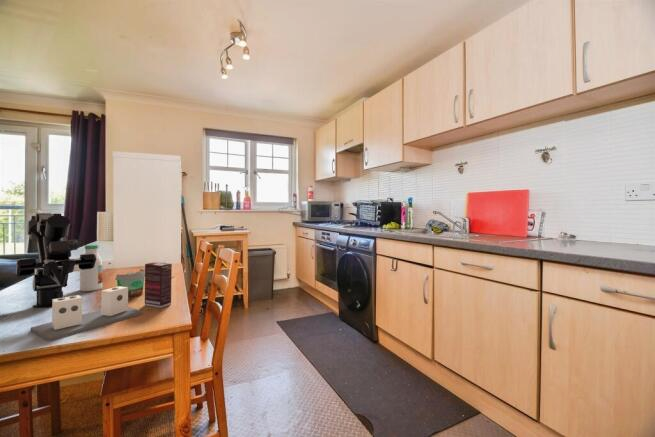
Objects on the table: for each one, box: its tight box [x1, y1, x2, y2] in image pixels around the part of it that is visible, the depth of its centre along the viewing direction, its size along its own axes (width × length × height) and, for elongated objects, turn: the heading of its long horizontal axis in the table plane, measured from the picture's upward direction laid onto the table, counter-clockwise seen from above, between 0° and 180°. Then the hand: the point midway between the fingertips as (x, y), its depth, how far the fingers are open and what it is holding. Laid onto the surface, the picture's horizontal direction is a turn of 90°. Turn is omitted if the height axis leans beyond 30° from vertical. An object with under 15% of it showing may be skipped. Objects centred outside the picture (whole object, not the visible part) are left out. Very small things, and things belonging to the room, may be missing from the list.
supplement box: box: [144, 261, 173, 309], centre depth 107 cm, size 9×5×16 cm, turn 71°
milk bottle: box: [79, 244, 104, 292], centre depth 125 cm, size 8×8×20 cm
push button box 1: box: [100, 286, 129, 316], centre depth 95 cm, size 4×6×8 cm
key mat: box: [30, 306, 143, 342], centre depth 90 cm, size 24×13×1 cm, turn 152°
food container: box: [115, 269, 145, 299], centre depth 118 cm, size 12×6×10 cm, turn 168°
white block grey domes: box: [51, 294, 83, 330], centre depth 84 cm, size 4×6×8 cm
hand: (61, 285), depth 89 cm, fingers closed
